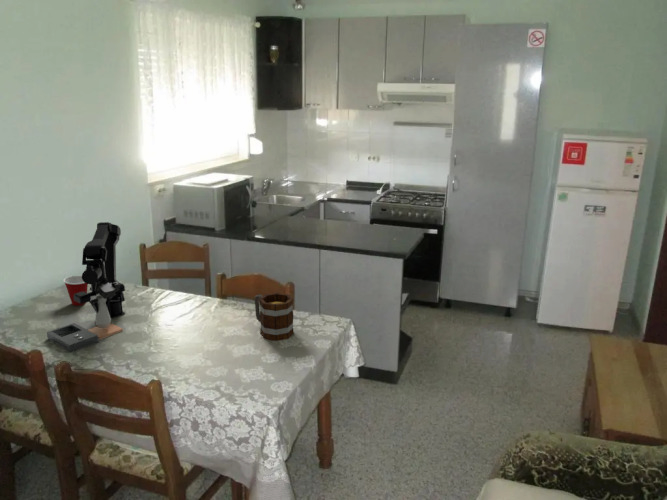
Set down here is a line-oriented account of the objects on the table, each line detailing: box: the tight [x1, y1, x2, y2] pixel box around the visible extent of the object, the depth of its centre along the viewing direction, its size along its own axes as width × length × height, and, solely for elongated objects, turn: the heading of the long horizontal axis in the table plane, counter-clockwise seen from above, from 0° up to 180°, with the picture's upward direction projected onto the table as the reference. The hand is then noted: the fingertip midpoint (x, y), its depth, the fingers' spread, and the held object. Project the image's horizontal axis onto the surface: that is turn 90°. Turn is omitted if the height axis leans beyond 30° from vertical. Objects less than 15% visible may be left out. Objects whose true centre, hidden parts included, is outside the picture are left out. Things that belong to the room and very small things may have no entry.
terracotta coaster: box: [87, 322, 124, 340], centre depth 219 cm, size 10×10×1 cm
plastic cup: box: [62, 275, 89, 307], centre depth 246 cm, size 11×11×12 cm
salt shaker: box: [95, 295, 112, 328], centre depth 217 cm, size 6×6×13 cm
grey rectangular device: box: [46, 322, 99, 353], centre depth 211 cm, size 11×18×3 cm, turn 52°
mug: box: [254, 292, 295, 342], centre depth 219 cm, size 20×14×15 cm
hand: (102, 312), depth 217 cm, fingers closed on salt shaker, 3 cm apart
